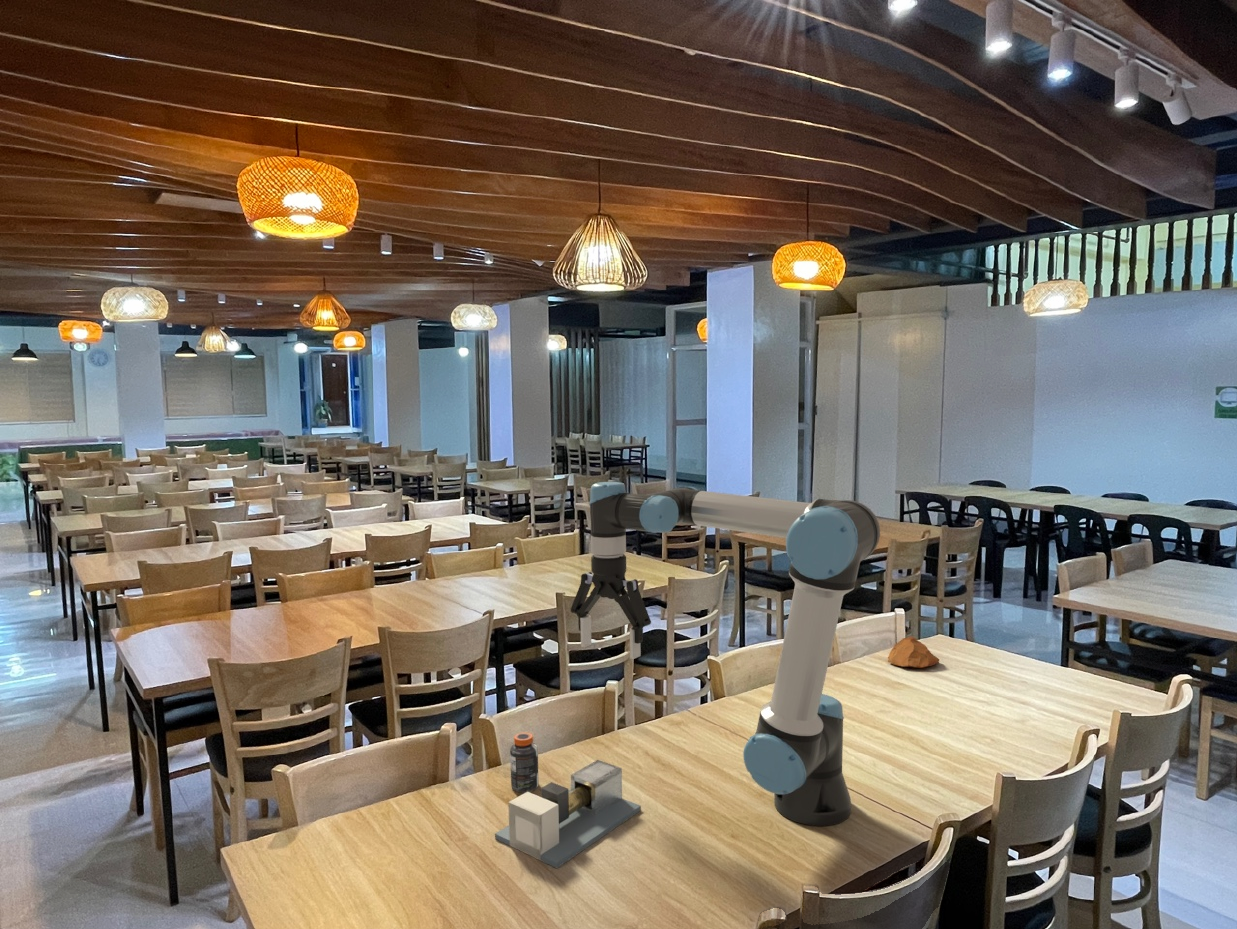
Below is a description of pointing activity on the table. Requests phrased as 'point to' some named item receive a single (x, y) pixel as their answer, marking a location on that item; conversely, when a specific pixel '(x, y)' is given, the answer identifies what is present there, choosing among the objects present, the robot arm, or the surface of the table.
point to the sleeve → (599, 785)
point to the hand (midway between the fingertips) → (610, 651)
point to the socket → (533, 824)
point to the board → (581, 831)
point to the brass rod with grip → (566, 798)
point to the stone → (911, 654)
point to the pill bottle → (524, 763)
